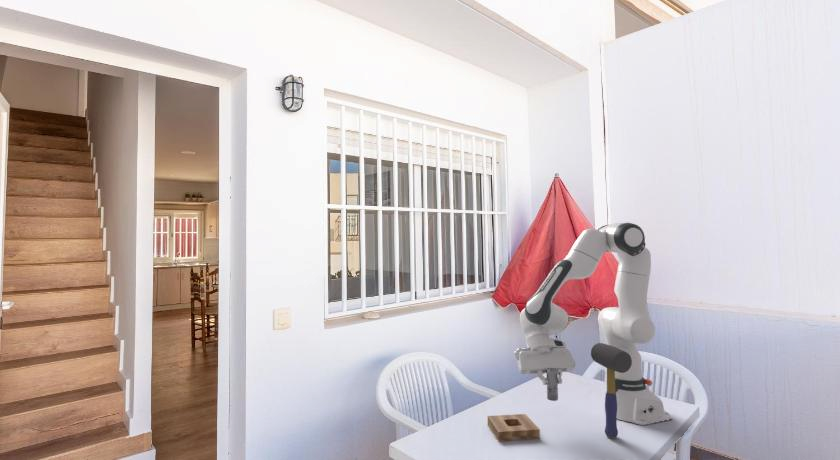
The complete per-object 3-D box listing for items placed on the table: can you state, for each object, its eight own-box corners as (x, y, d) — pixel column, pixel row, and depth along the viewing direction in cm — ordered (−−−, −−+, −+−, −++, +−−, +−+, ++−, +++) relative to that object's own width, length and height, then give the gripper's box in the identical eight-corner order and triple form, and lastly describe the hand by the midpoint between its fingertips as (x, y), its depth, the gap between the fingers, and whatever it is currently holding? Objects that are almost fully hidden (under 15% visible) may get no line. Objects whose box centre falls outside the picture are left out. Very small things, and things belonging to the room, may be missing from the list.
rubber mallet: (635, 445, 129) (634, 350, 130) (615, 447, 128) (614, 351, 128) (608, 427, 142) (607, 340, 142) (589, 429, 140) (588, 342, 141)
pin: (555, 396, 143) (554, 367, 143) (559, 400, 139) (559, 370, 139) (545, 397, 142) (544, 368, 142) (549, 401, 139) (549, 371, 139)
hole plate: (525, 422, 145) (525, 413, 145) (539, 438, 133) (539, 429, 134) (487, 424, 144) (487, 416, 144) (498, 441, 132) (498, 431, 132)
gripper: (515, 344, 146) (526, 381, 137) (569, 341, 149) (583, 377, 139) (511, 353, 151) (521, 389, 141) (563, 350, 153) (577, 386, 144)
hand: (553, 383), depth 140 cm, fingers closed on pin, 4 cm apart
